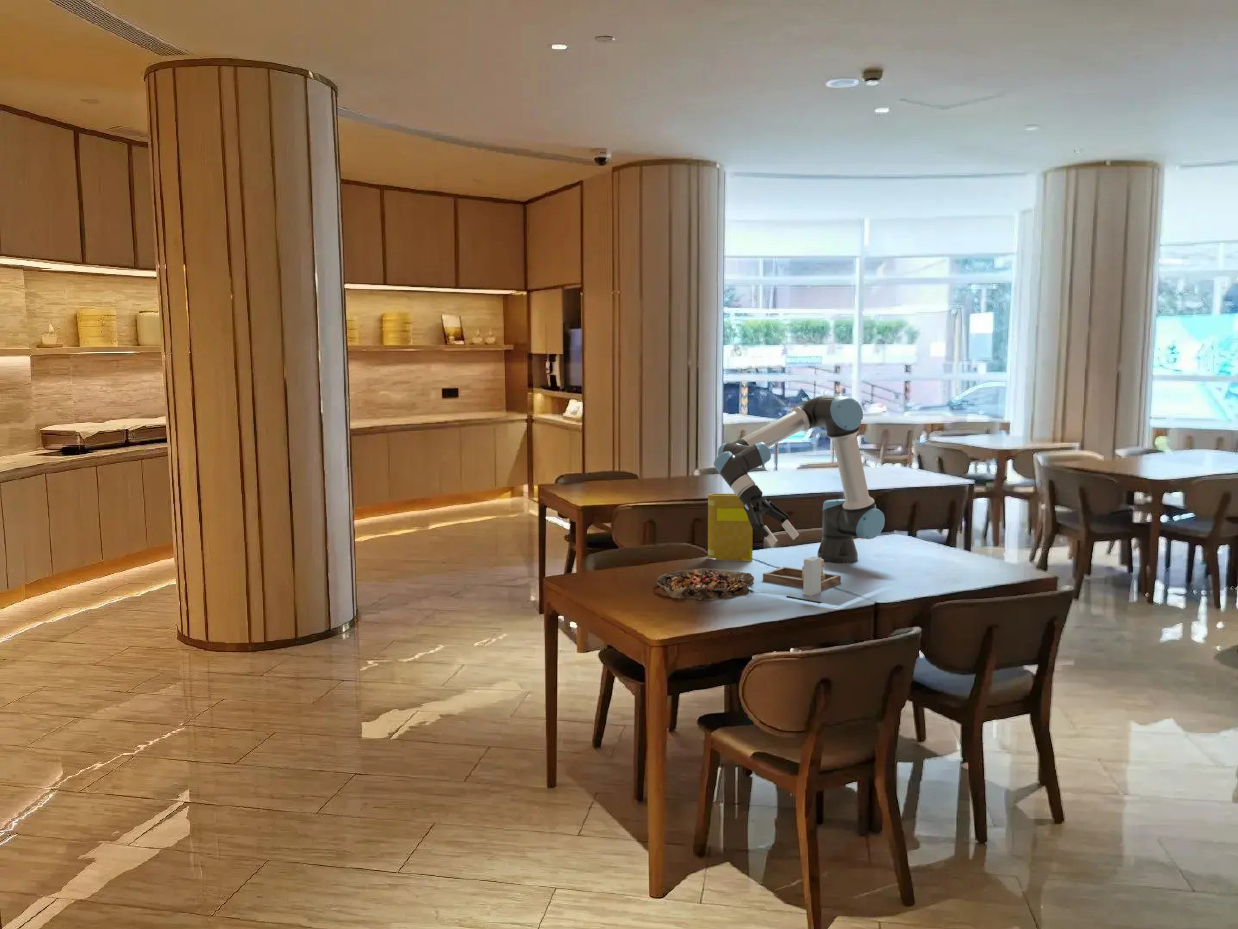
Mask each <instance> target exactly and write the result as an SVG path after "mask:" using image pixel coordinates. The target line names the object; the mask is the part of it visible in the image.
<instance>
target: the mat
mask: <svg viewBox="0 0 1238 929" xmlns="http://www.w3.org/2000/svg"><path fill="white" fill-rule="evenodd" d="M786 598H787V599H792V600H798V601H803V602H809V603H815V604H822V603H823V602H822V601H816V600H813V599H812V600H811V599H807V598H801V597H795V596H790V595H786Z"/></svg>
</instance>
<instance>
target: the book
mask: <svg viewBox="0 0 1238 929" xmlns="http://www.w3.org/2000/svg"><path fill="white" fill-rule="evenodd" d="M743 507H744V504H743V503H742V502H741V501H740V499H739V497H738V496H737V495H736V494H735V493H708V494H707V559H708V558H716V559H718V560H717V561H742V562H753V538H754V537H753V530H754V529H753V528H752V526H751V524H750V521H749V518H748V516H747V513H746V511H745V510H744V508H743Z"/></svg>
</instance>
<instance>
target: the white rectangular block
mask: <svg viewBox="0 0 1238 929" xmlns="http://www.w3.org/2000/svg"><path fill="white" fill-rule="evenodd" d="M803 566H804V584H803V587H802V588H803V590H802V591H803V595H805V596H809V597H812V596H815V595H817V594H820V593H822V590H821V558H820V557H817V556H810V557H807V559H805V558H804V559H803Z"/></svg>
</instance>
